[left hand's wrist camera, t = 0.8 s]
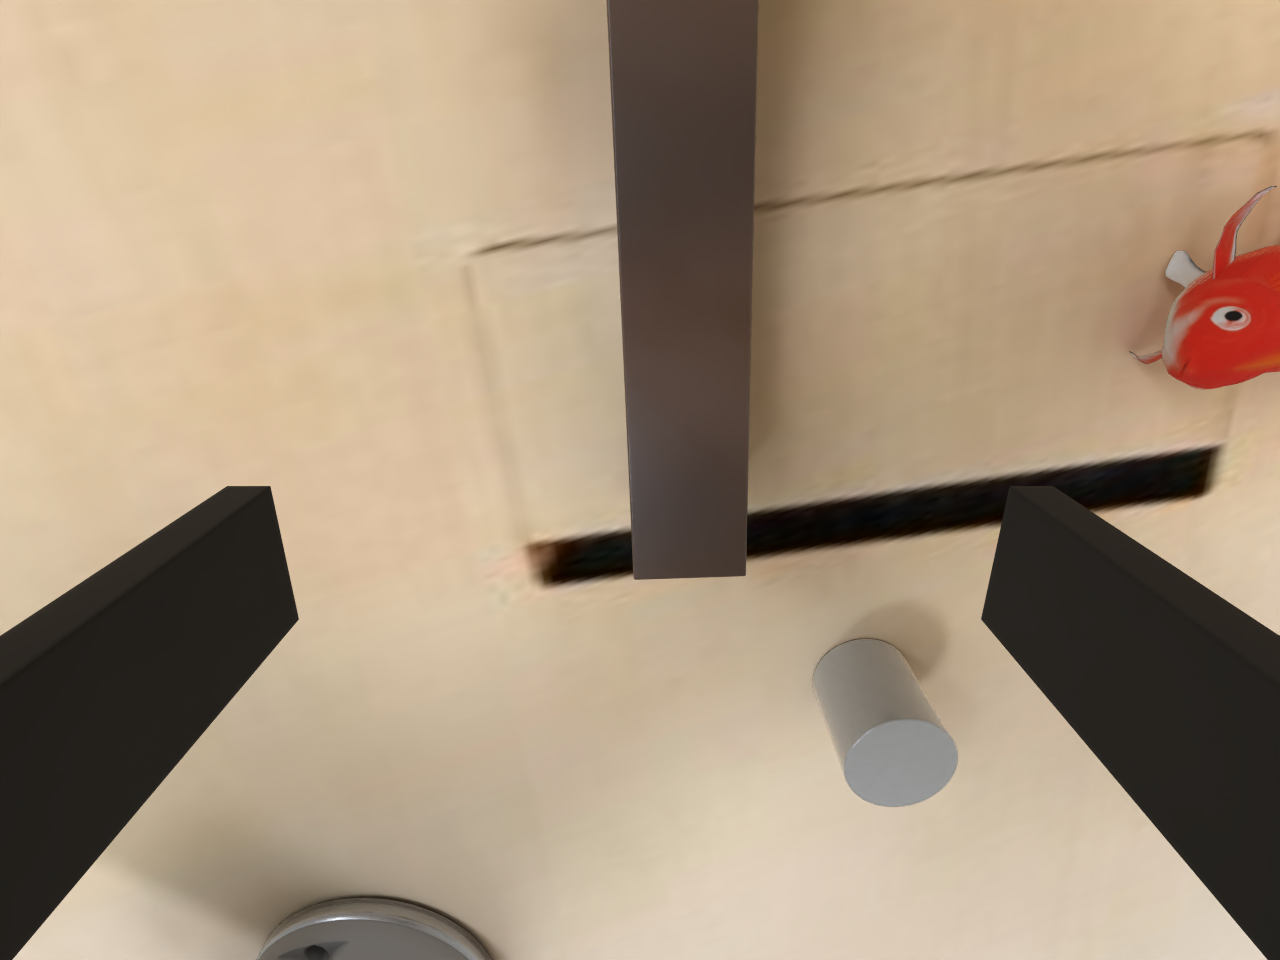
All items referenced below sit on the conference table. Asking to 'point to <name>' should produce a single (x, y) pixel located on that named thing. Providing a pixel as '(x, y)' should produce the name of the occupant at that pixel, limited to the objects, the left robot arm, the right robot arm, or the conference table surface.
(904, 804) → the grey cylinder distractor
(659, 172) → the bar
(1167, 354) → the fish
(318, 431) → the conference table surface
